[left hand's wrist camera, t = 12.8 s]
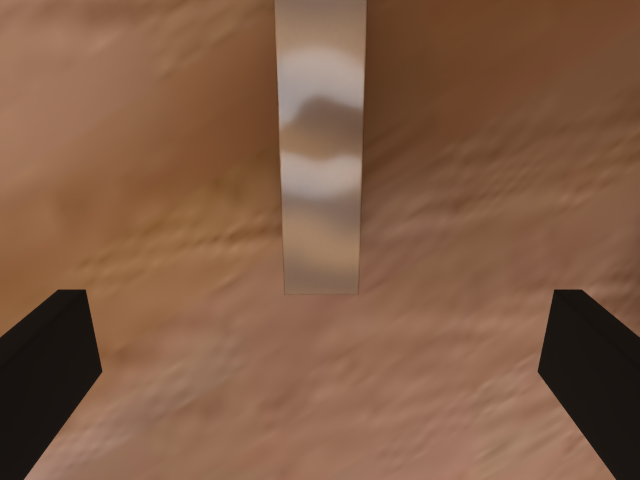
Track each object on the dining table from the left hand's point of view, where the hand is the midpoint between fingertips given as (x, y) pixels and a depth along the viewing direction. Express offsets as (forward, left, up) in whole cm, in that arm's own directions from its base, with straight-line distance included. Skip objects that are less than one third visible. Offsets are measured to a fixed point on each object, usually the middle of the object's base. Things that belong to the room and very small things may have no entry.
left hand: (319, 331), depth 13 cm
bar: (-11, -33, -22) cm, 41 cm away
